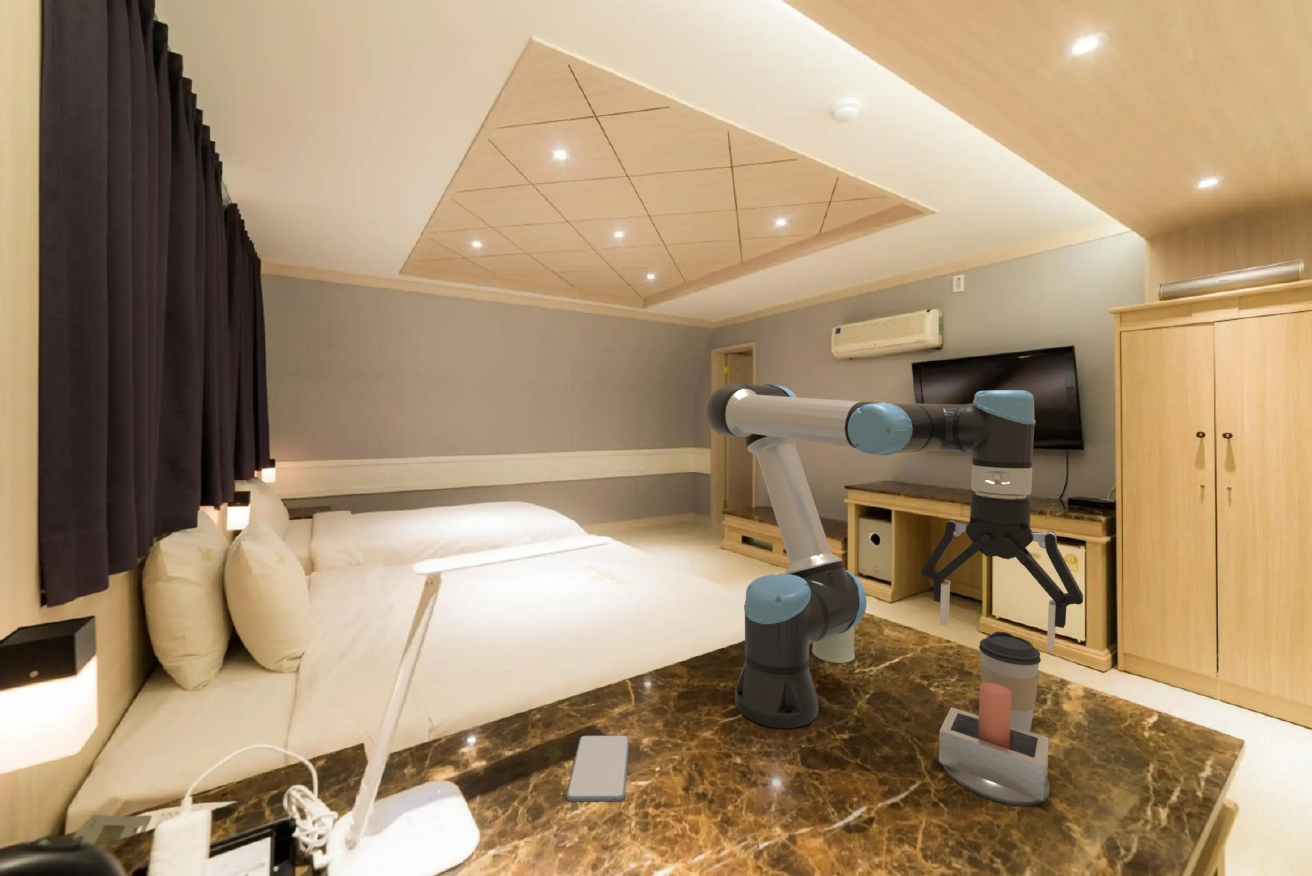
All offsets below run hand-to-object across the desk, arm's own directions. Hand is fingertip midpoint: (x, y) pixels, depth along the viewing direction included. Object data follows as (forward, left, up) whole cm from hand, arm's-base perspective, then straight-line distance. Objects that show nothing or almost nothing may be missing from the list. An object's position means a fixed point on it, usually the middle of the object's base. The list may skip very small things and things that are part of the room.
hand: (994, 634), depth 80 cm
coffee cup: (0, +17, -21) cm, 27 cm away
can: (-34, +24, -22) cm, 47 cm away
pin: (0, 0, -20) cm, 20 cm away
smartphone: (-47, -37, -22) cm, 64 cm away
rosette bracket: (0, 0, -21) cm, 21 cm away
